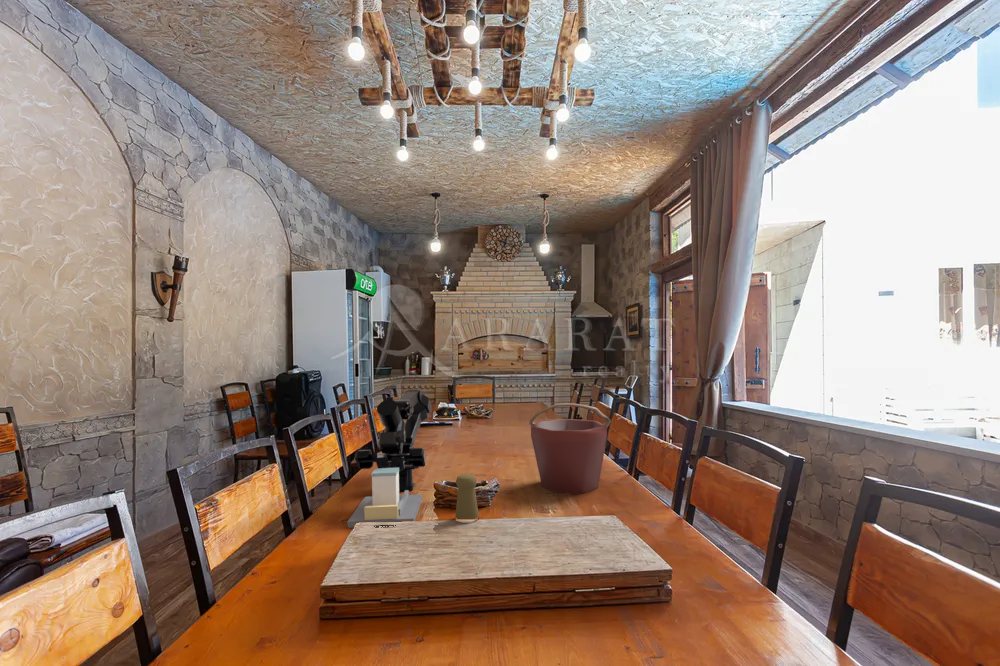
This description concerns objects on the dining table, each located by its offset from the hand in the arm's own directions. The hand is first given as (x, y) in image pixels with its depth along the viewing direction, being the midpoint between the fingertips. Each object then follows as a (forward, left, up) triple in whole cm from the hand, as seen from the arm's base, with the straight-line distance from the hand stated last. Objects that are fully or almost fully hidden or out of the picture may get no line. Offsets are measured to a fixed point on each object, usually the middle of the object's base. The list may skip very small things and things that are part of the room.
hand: (387, 486), depth 128 cm
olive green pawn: (+8, +21, -7) cm, 24 cm away
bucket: (-16, +52, -7) cm, 55 cm away
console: (+1, 0, -7) cm, 7 cm away
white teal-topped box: (+3, 0, -5) cm, 6 cm away
